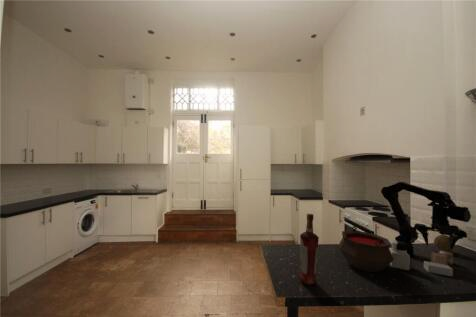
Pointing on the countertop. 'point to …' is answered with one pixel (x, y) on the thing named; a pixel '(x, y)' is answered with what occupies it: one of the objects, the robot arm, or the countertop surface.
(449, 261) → the round birch brick
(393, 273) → the countertop surface
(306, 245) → the liquor
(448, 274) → the long grey brick
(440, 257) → the terracotta tall brick
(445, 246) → the natural sponge
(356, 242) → the brown pot
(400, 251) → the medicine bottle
